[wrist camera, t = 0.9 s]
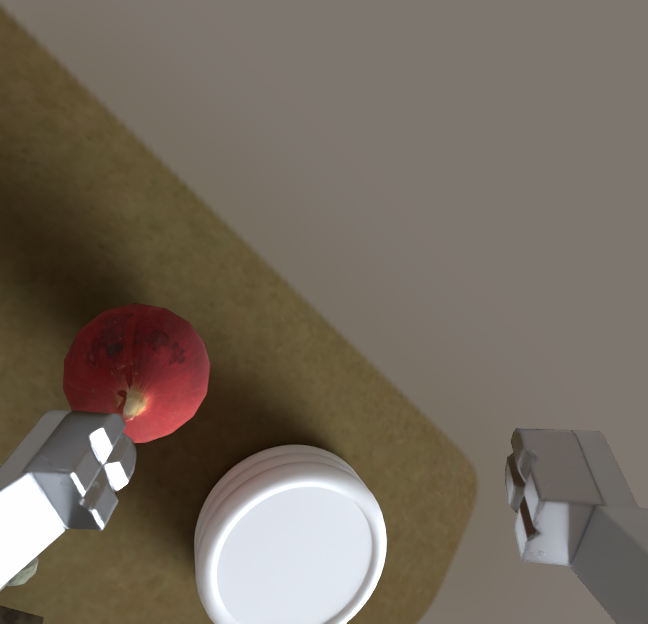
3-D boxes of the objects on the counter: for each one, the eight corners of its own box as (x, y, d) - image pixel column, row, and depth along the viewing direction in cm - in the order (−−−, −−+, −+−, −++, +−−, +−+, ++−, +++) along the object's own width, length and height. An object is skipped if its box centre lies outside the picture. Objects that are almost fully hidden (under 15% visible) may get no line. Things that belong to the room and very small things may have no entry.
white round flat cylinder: (175, 471, 25) (174, 505, 22) (351, 420, 28) (374, 443, 24) (215, 633, 27) (220, 687, 24) (377, 571, 29) (403, 612, 26)
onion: (65, 314, 23) (7, 348, 15) (186, 283, 24) (189, 298, 17) (104, 425, 24) (69, 508, 16) (218, 389, 25) (234, 449, 18)
